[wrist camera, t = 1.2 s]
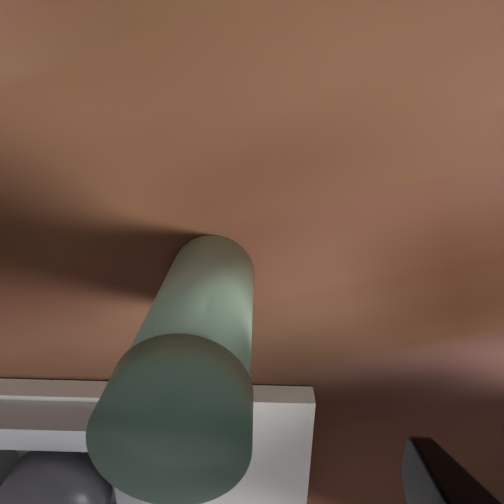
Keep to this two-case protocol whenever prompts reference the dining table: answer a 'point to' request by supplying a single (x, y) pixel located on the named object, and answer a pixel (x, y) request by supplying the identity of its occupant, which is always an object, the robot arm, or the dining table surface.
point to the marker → (183, 385)
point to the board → (236, 500)
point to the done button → (55, 480)
